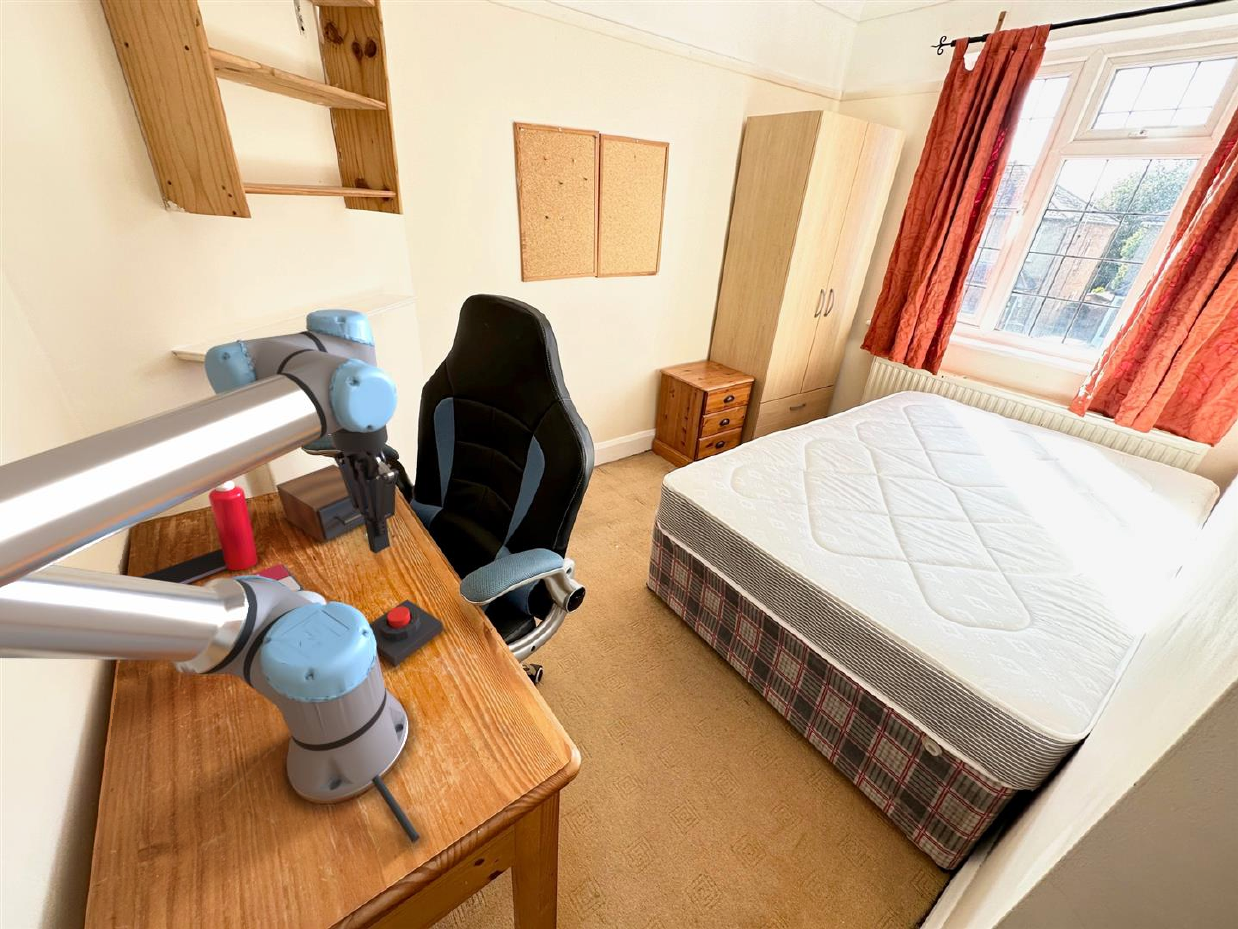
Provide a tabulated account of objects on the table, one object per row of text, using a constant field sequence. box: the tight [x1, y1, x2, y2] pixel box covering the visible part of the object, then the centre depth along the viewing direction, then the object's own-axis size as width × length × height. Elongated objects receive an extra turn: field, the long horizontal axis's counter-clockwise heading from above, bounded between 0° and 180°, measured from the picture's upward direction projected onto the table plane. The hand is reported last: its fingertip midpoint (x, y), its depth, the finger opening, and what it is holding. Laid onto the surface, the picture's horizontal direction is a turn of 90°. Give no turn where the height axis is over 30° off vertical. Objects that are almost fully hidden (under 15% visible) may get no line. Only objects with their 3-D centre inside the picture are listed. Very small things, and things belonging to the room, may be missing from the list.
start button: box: [387, 606, 410, 628], centre depth 86 cm, size 4×4×2 cm
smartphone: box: [138, 548, 228, 585], centre depth 98 cm, size 7×1×15 cm
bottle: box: [208, 480, 259, 571], centre depth 97 cm, size 5×6×20 cm
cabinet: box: [275, 463, 358, 544], centre depth 116 cm, size 16×14×10 cm
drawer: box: [317, 496, 365, 541], centre depth 114 cm, size 19×12×8 cm, turn 58°
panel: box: [369, 598, 444, 668], centre depth 87 cm, size 10×10×4 cm
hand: (380, 548), depth 82 cm, fingers closed
